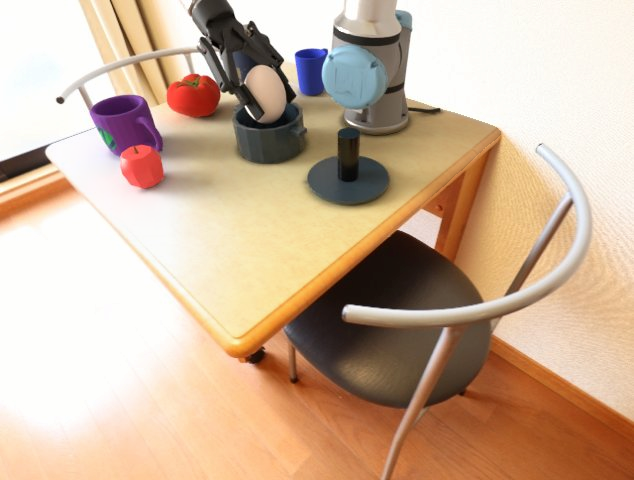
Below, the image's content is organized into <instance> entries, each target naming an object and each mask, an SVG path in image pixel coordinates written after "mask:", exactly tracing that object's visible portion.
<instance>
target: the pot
mask: <svg viewBox="0 0 634 480" xmlns="http://www.w3.org/2000/svg"><path fill="white" fill-rule="evenodd" d="M232 109H233V113H232V118H231V122H232V126H233V131H234V135H235V140H236V145H237V150H238V152H239V154H240V156H241V157H242V158H243V159H245V160H246V161H249V162H251V163H256V164H262V165H271V164H272V165H273V164H279V163H283V162H287V161H289V160H292V159H294V158H296V157H297V156H299V155H300V154H301V153H302V152H303V151H304V149H305V146H306V140H305V139H306V138H305V135H307V134H308V127H306V126H304V113H303V108H302V107H301V106H300V105H299V104H298V103H296V102H294V101H292V102H291V103H289V104H288V103H287V101H286V106H285V110H284V112H283V114H282V115H281V117H280V118H279V119H278V120H276V121H275V122H273V123H270V124H263V123H260V122H258V121H256V120H255V119H253V118H252V117H251V115H250V114H249V113H248V112H247V110H246V108H245V106H243V105H242V104H241V103H240V102H239V103H238V104H236V105H234V106H232Z"/></svg>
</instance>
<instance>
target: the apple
mask: <svg viewBox="0 0 634 480" xmlns="http://www.w3.org/2000/svg"><path fill="white" fill-rule="evenodd" d="M119 163H120V164H119V167H120V170H121V174H122V176H123V177H124V178H125V180H126V181H127V182H128V183H129V184H130V186H133V187H136V188H140V189H148V188H151V187H155V186H156V185H157V184H159V183H161V182H162V180H164V178H165V173H164V166H163V165H164V164H163V161H162V156H161V155H160V152H157V150H155V149H153V148H152V147H150V146H146V145H138V146H133V147H130V148H128V149H127V150H125V151H124V152H122V154H121V156H120V157H119Z"/></svg>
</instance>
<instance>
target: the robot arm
mask: <svg viewBox="0 0 634 480" xmlns="http://www.w3.org/2000/svg"><path fill="white" fill-rule="evenodd" d="M178 2H179V3H180V4H181V6H182V7H183V9H184V10H185V11H186V13H187V14H188V16H189V17H190V18H191V19H192V22H193V23H194V25H195V26H196V27H197V29H198V31H199V32H200V33H201V35H203V36H200V37H199V39H198V42H197V44H196V50H197V51H198V52H199V53H200V54H201V55H202V57H203V58H204V59H205V62H206V64H207V66H208V68H209V70H210V72H211V74H212V76H213V79H214V81H215V82H216V83H217V84H218V86H219V88H220V93H223V94H226V93H228V94H229V95H230V96H232V95H234V96H235V98H236V99H237V100H238V101H239V104H240V103H241V104H242V105H243V106H246V107H247V108H248V109H249V111H250V112H251V114H252V115H253V116H254V118H255V119H256V121H258V120H260V118H261V117H262V116H263V115H264V114H265V112H264V111H263V109H262V108H261V106H260V105H259V103H258V102H257V100H256V99H255V98H254V96H253V95H252V93H251V92H250V90H249V89H248V88H247V86H246V85H245V83H244V84H242V85H241V86H240V82H239V78H238V74H237V70H236V66H235V62H234V58H233V54H232V53H233V52H237V51H240V52H242V53H243V54H247V55H248V56H250V57H251V58H252V59H253V60H255V61H256V62H257V63H259V64H260V65H265V66H268V67H270V68H271V69H273V70H274V71H275V72H276V73H277V74H278V76H279V77H280V79H281V81H282V83H283V85H284V88H285V92H286V101H287V103H288V104H289V103H291V102H294V100H295V99H296V97H297V96H298V95H297V94H296V92H295V90H294V89H293V88H292V86H291V85H290V81H289V78H288V77H287V76H286V74H285V73H284V71H283V69H282V68H281V67H282V65H283V64H284V62H285V58H284V57H283V56H282V54H281V53H280V52H279V51H278V50H277V49H276V48H275V47H274V46H273V45H272V44H271V42H270V43H269V42H268V40H267V39H266V38H265V37H264V36H263V35H262V34H263V33H262V32H261V31H260V30H259V28H258V27H257V25H256V23H255V22H254V21H253V20H249V22H248V23H247V24H243V23H242V22H240V21H239V20H238V19H237V17H236V16H235V15H236V14H235V11H234V8H233V7H232V6H231V4H230V2H229V1H228V0H178ZM343 2H344V3H343V10H342V12H341V13H340V14H338V16H336V17H335V18H334V20H333V27H332V39H331V50H330V52H328V55H327V57H326V60H325V62H324V64H323V67H322V80H323V84H324V90H325V92H326V93H327V94H328V95H329V97H331V98H332V100H333V101H334V102H335V103H336V104H338V105H339V106H341V107H343V108H344V111H343V122H344V124H345V126H346V128H355V129H358V130H359V131H360V133H361V134H364V135H370V136H383V135H390V134H394V133H398V132H399V131H401V130H403V129H404V128H405V127H406V126H407V125H408V123H409V116H410V112H416V113H417V112H418V113H424V114H432V113H433V114H434V113H439V112H441V111H442V108H441V107H436V108H422V107H410V106H408V102H407V97H406V91H405V85H406V77H407V76H406V75H407V70H408V69H407V68H408V61H409V60H408V59H409V53H410V45H411V44H410V43H411V37H412V36H411V35H412V32H413V15H412V14H411V13H410V12H409V11H407V10H401V9H397V4H398V0H343ZM261 33H262V34H261ZM245 42H246V45H245V46H244V44H245ZM215 48H216V49H217V50H218V54H219V56H218V54H217V51H216V50H215ZM219 57H220V59H219ZM221 61H222V62H221ZM271 65H272V66H273V67H272V66H271Z"/></svg>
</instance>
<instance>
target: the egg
mask: <svg viewBox="0 0 634 480" xmlns="http://www.w3.org/2000/svg"><path fill="white" fill-rule="evenodd" d="M244 83H245V85H246V86H247V88H248V89H249V90H250V92H251V93H252V95H253V96H254V98H255V99H256V100H257V102H258V103H259V105H260V106H261V108H262V109H263V111H264V112H265V114H264V115H263V116H262V117H261V118H260V120H258V122H260V123H263V124H270V123H273V122H275V121H276V120H278V119H279V118H280V117H281V115H282V114H283V112H284V110H285V106H286V92H285V88H284V85H283V83H282V81H281V79H280V77H279V76H278V74H277V73H276V72H275V71H274V70H273V69H271V68H270V67H268V66H265V65H258V66H255V67H254V68H252V69H251V70H250V72H249V73H248V74H247V77H246V79H245V82H244ZM245 108H246V110H247V112H248V113H249V114H250V115H251V117H252V118H253V119H255V118H254V116H253V115H252V114H251V112H250V111H249V109H248V108H247V107H246V106H245ZM255 120H256V119H255Z"/></svg>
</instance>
